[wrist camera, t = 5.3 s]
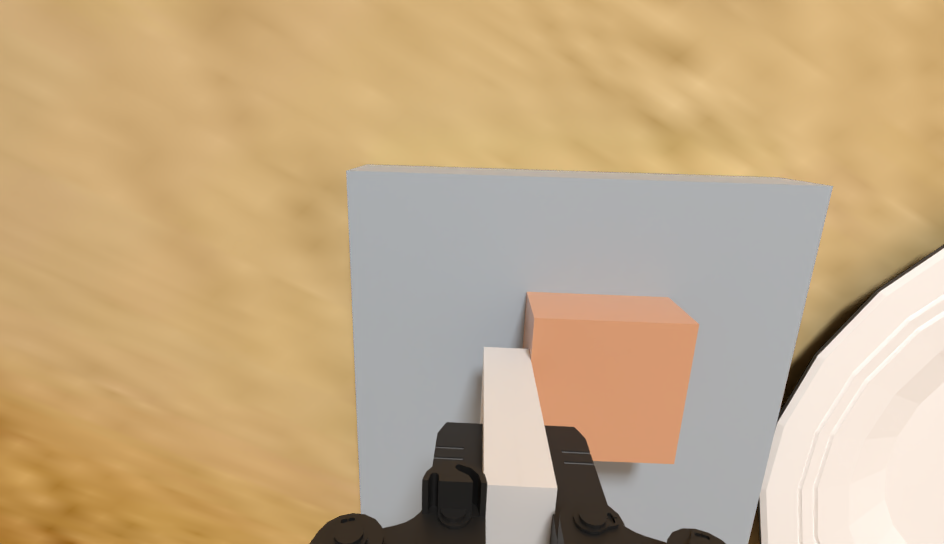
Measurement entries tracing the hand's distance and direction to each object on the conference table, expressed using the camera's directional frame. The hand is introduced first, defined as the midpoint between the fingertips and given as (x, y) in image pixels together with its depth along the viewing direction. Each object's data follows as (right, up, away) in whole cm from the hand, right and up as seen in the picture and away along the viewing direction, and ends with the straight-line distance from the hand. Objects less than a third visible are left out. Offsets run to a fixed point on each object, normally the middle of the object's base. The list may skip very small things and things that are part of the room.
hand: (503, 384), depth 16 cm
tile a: (+3, +1, +2) cm, 4 cm away
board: (+2, -4, +6) cm, 7 cm away
